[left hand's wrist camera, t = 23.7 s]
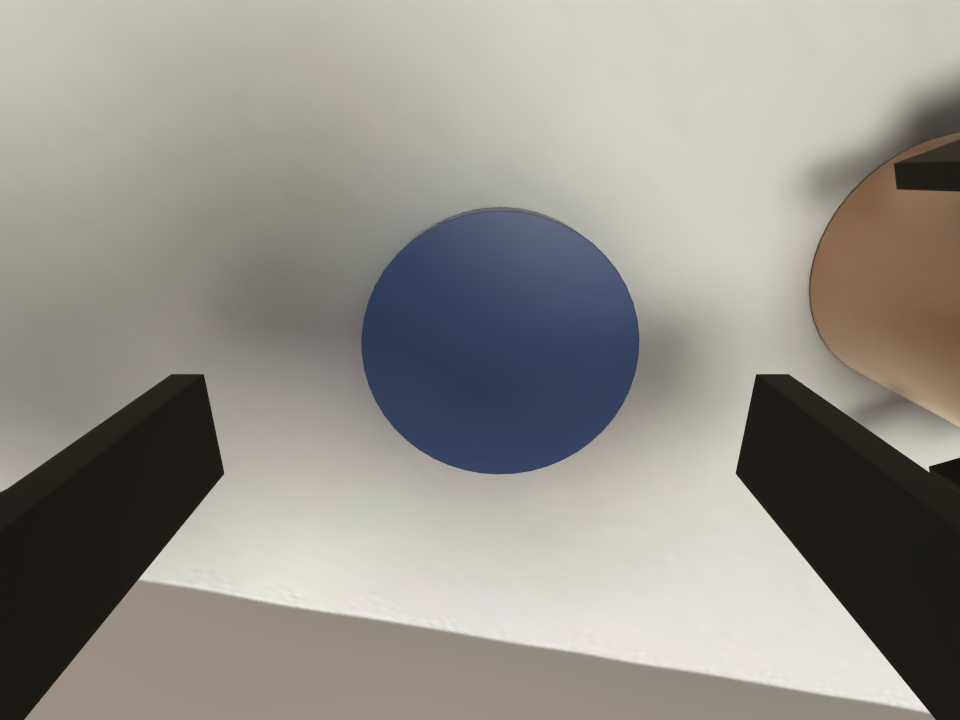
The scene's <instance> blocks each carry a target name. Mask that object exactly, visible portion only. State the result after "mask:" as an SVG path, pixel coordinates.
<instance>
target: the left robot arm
mask: <svg viewBox="0 0 960 720" xmlns="http://www.w3.org/2000/svg"><path fill="white" fill-rule="evenodd" d="M223 474H224V470H223V465H222V460H221V455H220V450H219V446H218V441H217V436H216V431H215V426H214V422H213V417H212V412H211V407H210V402H209V397H208V393H207V388H206V383H205V378H204V374H171V375H170V376H168V377H167V378H166V379H164V380H163V381H161V382H160V383H158V384H157V385H156V386H154V387H153V388H151V389H150V390H148V391H147V392H145V393H144V394H143V395H141V396H140V397H138V398H137V399H135V400H134V401H133V402H131V403H130V404H128V405H127V406H125V407H124V408H123V409H121V410H120V411H118V412H117V413H115V414H114V415H113V416H111V417H110V418H108V419H107V420H105V421H104V422H102V423H101V424H100V425H98V426H97V427H95V428H94V429H92V430H91V431H90V432H88V433H87V434H85V435H84V436H82V437H81V438H80V439H78V440H77V441H75V442H74V443H72V444H71V445H70V446H68V447H67V448H65V449H64V450H62V451H61V452H59V453H58V454H57V455H55V456H54V457H52V458H51V459H49V460H48V461H47V462H45V463H44V464H42V465H41V466H39V467H38V468H37V469H35V470H34V471H32V472H31V473H29V474H28V475H26V476H25V477H24V478H22V479H21V480H19V481H18V482H16V483H15V484H14V485H12V486H11V487H9V488H8V489H6V490H4V491H2V492H0V720H24V719H25V718H26V717H27V715H28V714H29V713H30V712H31V711H32V709H33V708H34V707H35V706H36V704H37V703H38V702H39V701H40V699H41V698H42V697H43V696H44V695H45V693H46V692H47V691H48V690H49V688H50V687H51V686H52V685H53V683H54V682H55V681H56V680H57V679H58V677H59V676H60V675H61V674H62V672H63V671H64V670H65V669H66V667H67V666H68V665H69V664H70V663H71V661H72V660H73V659H74V658H75V656H76V655H77V654H78V653H79V652H80V650H81V649H82V648H83V647H84V645H85V644H86V643H87V642H88V640H89V639H90V638H91V637H92V636H93V634H94V633H95V632H96V631H97V629H98V628H99V627H100V626H101V624H102V623H103V622H104V621H105V620H106V618H107V617H108V616H109V615H110V613H111V612H112V611H113V610H114V608H115V607H116V606H117V605H118V604H119V602H120V601H121V600H122V599H123V597H124V596H125V595H126V594H127V592H128V591H129V590H130V589H131V588H132V586H133V585H134V584H135V583H136V581H137V580H138V579H139V578H140V577H141V575H142V574H143V573H144V572H145V570H146V569H147V568H148V567H149V565H150V564H151V563H152V562H153V561H154V559H155V558H156V557H157V556H158V554H159V553H160V552H161V551H162V549H163V548H164V547H165V546H166V545H167V543H168V542H169V541H170V540H171V538H172V537H173V536H174V535H175V533H176V532H177V531H178V530H179V529H180V527H181V526H182V525H183V524H184V522H185V521H186V520H187V519H188V518H189V516H190V515H191V514H192V513H193V511H194V510H195V509H196V508H197V506H198V505H199V504H200V503H201V502H202V500H203V499H204V498H205V497H206V495H207V494H208V493H209V492H210V490H211V489H212V488H213V487H214V486H215V484H216V483H217V482H218V481H219V479H220V478H221V477H222V476H223ZM736 474H737V476H738V477H739V478H740V479H741V481H742V482H743V483H744V484H745V486H746V487H747V488H748V489H749V490H750V492H751V493H752V494H753V495H754V497H755V498H756V499H757V500H758V502H759V503H760V504H761V505H762V506H763V508H764V509H765V510H766V511H767V513H768V514H769V515H770V516H771V518H772V519H773V520H774V521H775V522H776V524H777V525H778V526H779V527H780V529H781V530H782V531H783V532H784V533H785V535H786V536H787V537H788V538H789V540H790V541H791V542H792V543H793V545H794V546H795V547H796V548H797V549H798V551H799V552H800V553H801V554H802V556H803V557H804V558H805V559H806V561H807V562H808V563H809V564H810V565H811V567H812V568H813V569H814V570H815V572H816V573H817V574H818V575H819V577H820V578H821V579H822V580H823V581H824V583H825V584H826V585H827V586H828V588H829V589H830V590H831V591H832V593H833V594H834V595H835V596H836V597H837V599H838V600H839V601H840V602H841V604H842V605H843V606H844V607H845V608H846V610H847V611H848V612H849V613H850V615H851V616H852V617H853V618H854V620H855V621H856V622H857V623H858V624H859V626H860V627H861V628H862V629H863V631H864V632H865V633H866V634H867V636H868V637H869V638H870V639H871V640H872V642H873V643H874V644H875V645H876V647H877V648H878V649H879V650H880V652H881V653H882V654H883V655H884V656H885V658H886V659H887V660H888V661H889V663H890V664H891V665H892V666H893V667H894V669H895V670H896V671H897V672H898V674H899V675H900V676H901V677H902V679H903V680H904V681H905V682H906V683H907V685H908V686H909V687H910V688H911V690H912V691H913V692H914V693H915V695H916V696H917V697H918V698H919V699H920V701H921V702H922V703H923V704H924V706H925V707H926V708H927V709H928V711H929V712H930V713H931V714H932V715H933V717H934V718H935V719H936V720H960V490H959V489H957V488H954V487H952V486H950V485H948V484H946V483H944V482H942V481H941V480H939V479H938V478H936V477H935V476H934V475H932V474H931V473H929V472H928V471H926V470H925V469H923V468H922V467H921V466H919V465H918V464H916V463H915V462H913V461H912V460H911V459H909V458H908V457H906V456H905V455H903V454H902V453H901V452H899V451H898V450H896V449H895V448H893V447H892V446H890V445H889V444H888V443H886V442H885V441H883V440H882V439H880V438H879V437H878V436H876V435H875V434H873V433H872V432H870V431H869V430H868V429H866V428H865V427H863V426H862V425H860V424H859V423H858V422H856V421H855V420H853V419H852V418H850V417H849V416H847V415H846V414H845V413H843V412H842V411H840V410H839V409H837V408H836V407H835V406H833V405H832V404H830V403H829V402H827V401H826V400H825V399H823V398H822V397H820V396H819V395H817V394H816V393H815V392H813V391H812V390H810V389H809V388H807V387H806V386H804V385H803V384H802V383H800V382H799V381H797V380H796V379H794V378H793V377H792V376H790V375H789V374H756V378H755V383H754V388H753V393H752V397H751V402H750V407H749V412H748V417H747V421H746V426H745V431H744V436H743V441H742V446H741V450H740V455H739V460H738V465H737V470H736Z"/></svg>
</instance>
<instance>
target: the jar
mask: <svg viewBox="0 0 960 720" xmlns="http://www.w3.org/2000/svg"><path fill="white" fill-rule="evenodd" d="M959 139H960V133H954V134H950V135H946V136H942V137H938V138H934V139H932V140H929V141H927V142H924V143H921V144H919V145H916V146H914V147H912V148H910V149H908V150H907V151H905V152H903V153H901V154H899V155H897V156H896V157H894V158H893V159H891V160H890V161H888V162H887V163H885V164H884V165H882V166H881V167H879V168H878V169H877V170H876V171H875V172H873V173H872V174H871V175H870V176H869V177H867V178H866V179H865V180H864V181H863V182H862V183H861V184H860V185H859V186H858V187H857V188H856V189H855V190H854V191H853V192H852V193H851V194H850V196H849V197H848V198H847V199H846V201H845V202H844V203H843V204H842V206H841V207H840V208H839V209H838V211H837V213H836V214H835V216H834V217H833V219H832V220H831V222H830V224H829V225H828V227H827V229H826V231H825V234H824V236H823V238H822V240H821V242H820V245H819V248H818V250H817V253H816V256H815V260H814V264H813V269H812V273H811V285H810V298H811V308H812V313H813V318H814V321H815V323H816V326H817V329H818V332H819V334H820V335H821V337H822V339H823V341H824V342H825V344H826V345H827V347H828V348H829V349H830V350H831V352H832V353H833V354H834V355H835V356H836V357H837V358H838V359H839V360H840V361H842V362H843V363H844V364H845V365H847V366H848V367H850V368H851V369H853V370H855V371H856V372H858V373H860V374H862V375H864V376H865V377H867V378H869V379H871V380H873V381H875V382H877V383H878V384H880V385H882V386H884V387H886V388H888V389H890V390H891V391H893V392H895V393H897V394H899V395H901V396H903V397H904V398H906V399H908V400H910V401H912V402H914V403H915V404H917V405H919V406H921V407H923V408H925V409H927V410H928V411H930V412H932V413H934V414H936V415H938V416H940V417H941V418H943V419H945V420H947V421H949V422H951V423H953V424H954V425H956V426H958V427H960V192H956V191H927V190H897V188H896V179H895V170H894V163H896V162H899V161H902V160H905V159H907V158H910V157H913V156H916V155H918V154H921V153H924V152H926V151H929V150H932V149H935V148H937V147H940V146H943V145H946V144H948V143H951V142H954V141H957V140H959Z"/></svg>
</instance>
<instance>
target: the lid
mask: <svg viewBox="0 0 960 720" xmlns="http://www.w3.org/2000/svg"><path fill="white" fill-rule="evenodd" d="M638 354H639V332H638V322H637V317H636V313H635V309H634V305H633V302H632V299H631V297H630V294H629V292H628V289H627V287H626V285H625V283H624V281H623V280H622V278H621V276H620V274H619V273H618V271H617V270H616V268H615V267H614V266H613V265H612V263H611V262H610V261H609V259H608V258H607V257H606V256H605V255H604V254H603V253H602V252H601V251H600V250H599V249H598V248H597V247H596V246H595V245H594V244H593V243H592V242H590V241H589V240H587V239H586V238H585V237H583V236H582V235H580V234H579V233H578V232H576V231H575V230H573V229H572V228H570V227H569V226H567V225H565V224H563V223H561V222H559V221H557V220H555V219H554V218H551V217H548V216H545V215H542V214H540V213H537V212H533V211H528V210H523V209H517V208H503V207H498V208H483V209H478V210H473V211H468V212H464V213H461V214H458V215H455V216H452V217H450V218H447V219H445V220H443V221H441V222H439V223H437V224H435V225H433V226H432V227H430V228H429V229H427V230H426V231H425V232H423V233H422V234H420V235H419V236H418V237H416V238H415V239H414V240H413V241H411V242H410V243H409V244H408V245H407V246H406V247H405V248H404V249H403V250H402V251H400V252H399V253H398V254H397V255H396V257H395V258H394V259H393V260H392V261H391V263H390V264H389V265H388V266H387V268H386V269H385V270H384V272H383V274H382V275H381V277H380V278H379V280H378V282H377V283H376V285H375V288H374V290H373V292H372V295H371V297H370V299H369V302H368V305H367V309H366V313H365V316H364V322H363V329H362V357H363V364H364V370H365V373H366V377H367V380H368V384H369V387H370V389H371V391H372V394H373V396H374V398H375V400H376V402H377V404H378V406H379V407H380V409H381V411H382V412H383V414H384V415H385V417H386V418H387V419H388V421H389V422H390V423H391V424H392V426H393V427H394V428H395V429H396V430H397V431H398V432H399V433H400V434H401V435H402V436H403V437H404V438H405V439H406V440H407V441H409V442H410V443H411V444H412V445H414V446H415V447H416V448H418V449H419V450H420V451H422V452H424V453H426V454H427V455H429V456H431V457H432V458H434V459H436V460H439V461H441V462H443V463H445V464H448V465H450V466H453V467H457V468H460V469H463V470H467V471H473V472H478V473H487V474H514V473H521V472H527V471H532V470H536V469H539V468H543V467H547V466H549V465H551V464H554V463H556V462H559V461H561V460H563V459H565V458H567V457H569V456H571V455H572V454H574V453H576V452H578V451H579V450H580V449H582V448H583V447H585V446H586V445H587V444H589V443H590V442H591V441H592V440H593V439H594V438H596V437H597V436H598V435H599V434H600V433H601V432H602V431H603V430H604V429H605V428H606V426H607V425H608V424H609V423H610V422H611V421H612V419H613V418H614V417H615V415H616V414H617V412H618V410H619V409H620V407H621V406H622V404H623V402H624V400H625V398H626V396H627V394H628V392H629V390H630V387H631V384H632V381H633V378H634V375H635V372H636V366H637V361H638Z"/></svg>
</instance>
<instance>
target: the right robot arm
mask: <svg viewBox="0 0 960 720" xmlns="http://www.w3.org/2000/svg"><path fill="white" fill-rule="evenodd" d="M894 170H895V179H896V188H897V190H927V191H956V192H960V139H959V140H957V141H954V142H951V143H948V144H946V145H943V146H940V147H937V148H935V149H932V150H929V151H926V152H924V153H921V154H918V155H916V156H913V157H910V158H907V159H905V160H902V161H899V162H896V163H894ZM929 471H930V473H931V474H932V475H934V476H935V477H936V478H938V479H939V480H941V481H942V482H944V483H946V484H948V485H950V486H952V487H954V488H957V489H959V490H960V458H958V459H954V460H951V461H947V462H944V463H940V464H937V465H933V466H930V467H929Z"/></svg>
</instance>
